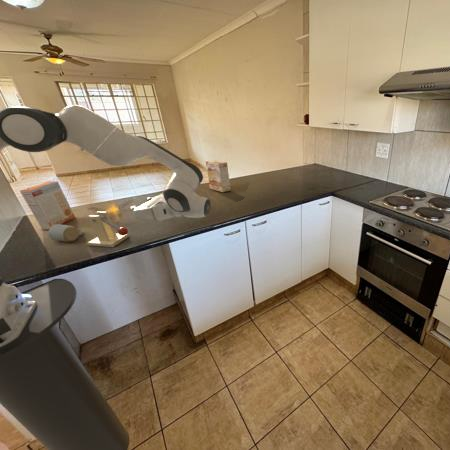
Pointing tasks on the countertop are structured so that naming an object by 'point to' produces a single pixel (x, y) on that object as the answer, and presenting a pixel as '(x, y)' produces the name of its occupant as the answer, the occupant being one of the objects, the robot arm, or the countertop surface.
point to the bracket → (104, 232)
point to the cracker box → (48, 204)
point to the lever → (113, 225)
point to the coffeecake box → (218, 175)
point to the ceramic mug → (64, 233)
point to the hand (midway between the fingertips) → (139, 204)
